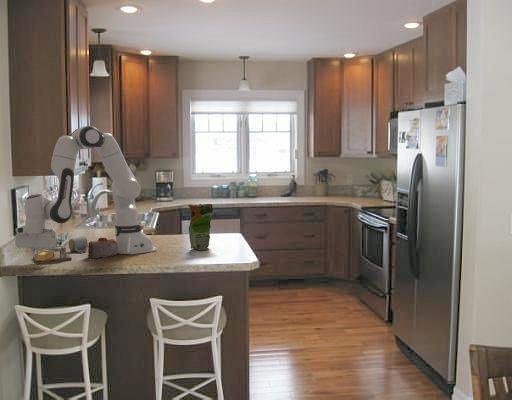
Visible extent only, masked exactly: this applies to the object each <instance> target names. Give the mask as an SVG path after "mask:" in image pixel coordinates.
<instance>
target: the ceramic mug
mask: <svg viewBox="0 0 512 400" xmlns="http://www.w3.org/2000/svg"><path fill="white" fill-rule="evenodd" d="M88 245H89V242H88V239H87V237H86V235H85V236H84V235H82V236H78V237H72V238H70V239H69V240H68V248H69V250H70V251H71V252H73V253H74V252H75V253H76V252H77V253H80V254H81V253H82V254H83V253H87V252H88V249H89V248H88Z"/></svg>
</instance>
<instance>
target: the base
mask: <svg viewBox="0 0 512 400" xmlns="http://www.w3.org/2000/svg"><path fill="white" fill-rule="evenodd" d="M48 252H53V257H52V258H49V259H47V260H45V261H44V260H37V258H34V256H33V255H32V259H33V261H34V262H35V263H36V264H37V265H38V264H46V263H48V264H49V263H56V262H57V263H58V262H67V261H72V257H71V256H70V255H69V254H68V253H67V247H66V246H56V248H54V249H48ZM55 252H59V253H55Z"/></svg>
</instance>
